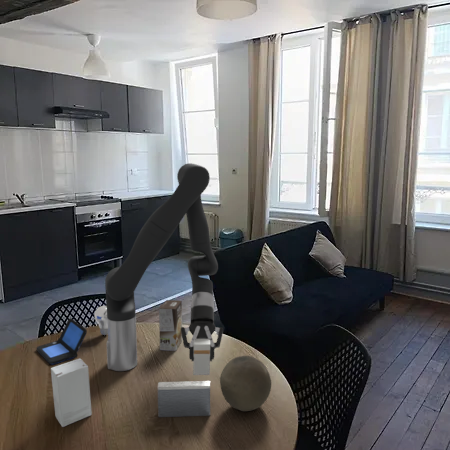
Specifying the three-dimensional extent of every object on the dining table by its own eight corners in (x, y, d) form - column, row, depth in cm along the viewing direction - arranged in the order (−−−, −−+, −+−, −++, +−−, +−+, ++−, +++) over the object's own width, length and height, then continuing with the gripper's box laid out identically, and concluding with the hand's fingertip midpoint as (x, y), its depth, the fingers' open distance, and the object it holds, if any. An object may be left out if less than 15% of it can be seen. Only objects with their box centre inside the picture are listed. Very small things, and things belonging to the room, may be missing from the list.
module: (193, 375, 125) (193, 344, 123) (193, 368, 129) (194, 338, 127) (209, 375, 125) (210, 344, 123) (209, 368, 129) (210, 338, 127)
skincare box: (84, 406, 115) (81, 356, 112) (92, 416, 110) (89, 365, 108) (53, 417, 109) (49, 366, 107) (60, 429, 105) (57, 375, 103)
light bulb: (117, 333, 163) (116, 304, 161) (105, 340, 156) (104, 310, 154) (103, 330, 165) (102, 302, 164) (91, 337, 159) (90, 307, 157)
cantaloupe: (221, 394, 120) (221, 346, 118) (269, 395, 120) (269, 347, 118) (218, 425, 107) (218, 371, 104) (273, 426, 106) (274, 372, 104)
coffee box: (176, 351, 147) (175, 309, 145) (159, 350, 148) (158, 308, 146) (182, 340, 156) (181, 300, 154) (166, 339, 157) (165, 299, 155)
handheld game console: (35, 350, 148) (33, 326, 147) (71, 339, 157) (70, 317, 156) (51, 366, 137) (49, 340, 136) (89, 354, 146) (87, 329, 145)
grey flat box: (158, 417, 110) (157, 387, 108) (159, 411, 112) (158, 382, 111) (210, 415, 110) (210, 385, 109) (210, 410, 113) (210, 380, 111)
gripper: (180, 303, 131) (177, 356, 121) (224, 304, 132) (226, 356, 122) (180, 313, 137) (178, 364, 127) (223, 313, 138) (224, 364, 128)
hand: (201, 360), depth 124 cm, fingers closed on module, 5 cm apart
